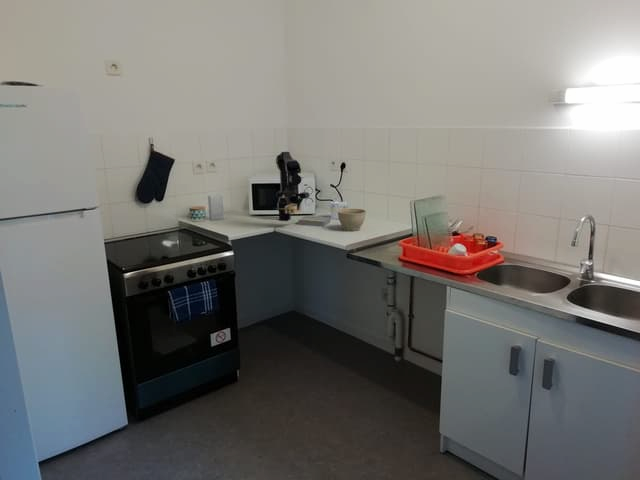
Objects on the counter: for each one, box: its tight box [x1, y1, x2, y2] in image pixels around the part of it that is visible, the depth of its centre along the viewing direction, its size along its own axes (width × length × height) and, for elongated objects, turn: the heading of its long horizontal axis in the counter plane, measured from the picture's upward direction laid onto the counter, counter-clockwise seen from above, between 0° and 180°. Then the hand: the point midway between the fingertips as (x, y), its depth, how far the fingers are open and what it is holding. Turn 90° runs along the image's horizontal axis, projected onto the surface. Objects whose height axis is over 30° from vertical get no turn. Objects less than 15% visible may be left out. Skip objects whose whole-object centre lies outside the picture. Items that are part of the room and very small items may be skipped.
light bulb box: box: [330, 201, 348, 220], centre depth 317 cm, size 11×7×11 cm, turn 84°
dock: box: [298, 215, 331, 227], centre depth 303 cm, size 16×13×3 cm
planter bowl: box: [338, 208, 367, 232], centre depth 286 cm, size 16×16×11 cm
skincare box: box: [207, 193, 225, 222], centre depth 315 cm, size 8×7×16 cm
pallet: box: [285, 203, 302, 215], centre depth 289 cm, size 6×10×4 cm, turn 161°
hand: (292, 209), depth 290 cm, fingers closed on pallet, 6 cm apart
